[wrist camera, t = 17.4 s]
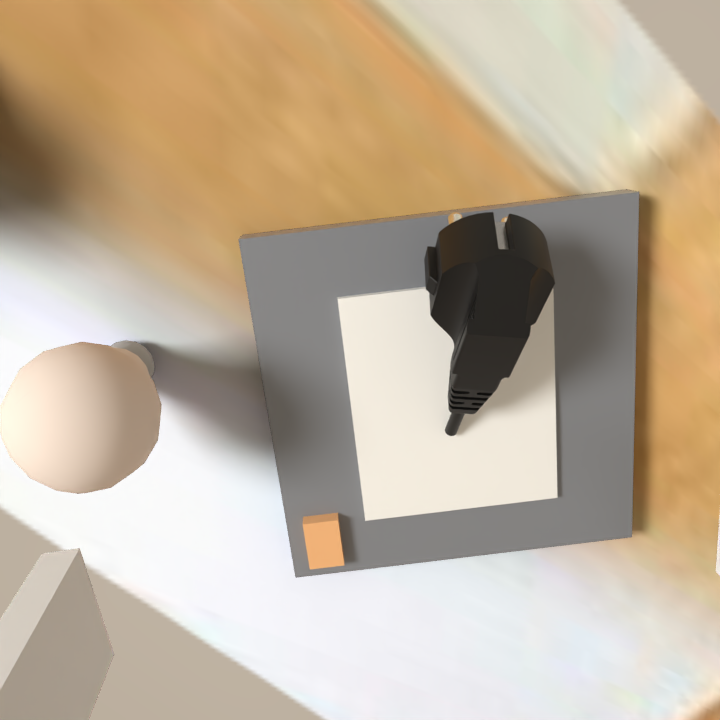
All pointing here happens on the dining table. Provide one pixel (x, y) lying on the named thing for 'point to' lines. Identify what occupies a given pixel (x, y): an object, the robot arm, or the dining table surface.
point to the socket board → (444, 392)
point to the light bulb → (82, 415)
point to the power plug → (485, 300)
